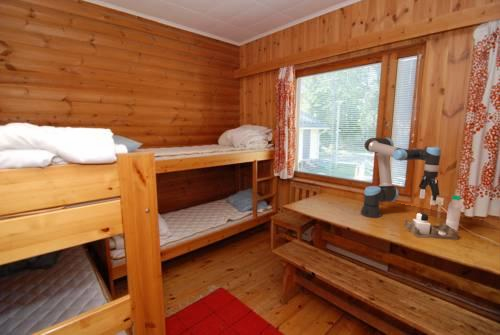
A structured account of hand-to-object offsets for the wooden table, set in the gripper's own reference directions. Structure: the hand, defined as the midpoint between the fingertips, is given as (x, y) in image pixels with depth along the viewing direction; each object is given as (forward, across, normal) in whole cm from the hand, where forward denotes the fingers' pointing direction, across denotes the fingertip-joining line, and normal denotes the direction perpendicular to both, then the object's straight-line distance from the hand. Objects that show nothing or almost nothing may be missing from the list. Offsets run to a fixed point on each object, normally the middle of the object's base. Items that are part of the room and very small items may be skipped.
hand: (427, 201), depth 162 cm
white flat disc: (+22, 0, +9) cm, 24 cm away
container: (+22, 0, -2) cm, 22 cm away
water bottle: (+23, -9, +23) cm, 34 cm away
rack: (+23, 0, +4) cm, 23 cm away
